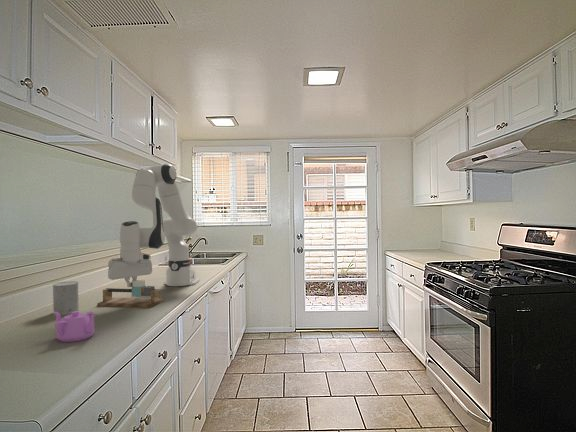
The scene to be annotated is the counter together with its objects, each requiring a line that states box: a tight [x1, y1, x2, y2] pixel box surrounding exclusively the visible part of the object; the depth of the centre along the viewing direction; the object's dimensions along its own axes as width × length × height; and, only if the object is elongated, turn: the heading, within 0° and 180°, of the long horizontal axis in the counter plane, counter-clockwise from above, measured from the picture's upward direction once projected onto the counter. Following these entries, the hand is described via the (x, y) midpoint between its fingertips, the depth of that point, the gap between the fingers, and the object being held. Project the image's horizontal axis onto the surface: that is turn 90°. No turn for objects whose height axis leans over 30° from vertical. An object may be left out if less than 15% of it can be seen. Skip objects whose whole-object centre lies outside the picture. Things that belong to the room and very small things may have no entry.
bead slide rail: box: [105, 285, 156, 297], centre depth 183 cm, size 25×4×4 cm, turn 80°
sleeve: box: [131, 279, 147, 298], centre depth 182 cm, size 4×4×7 cm
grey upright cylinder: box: [52, 281, 80, 316], centre depth 169 cm, size 10×10×12 cm
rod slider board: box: [96, 288, 165, 309], centre depth 183 cm, size 26×12×6 cm, turn 80°
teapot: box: [53, 310, 97, 343], centre depth 134 cm, size 12×14×9 cm
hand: (131, 286), depth 183 cm, fingers closed
